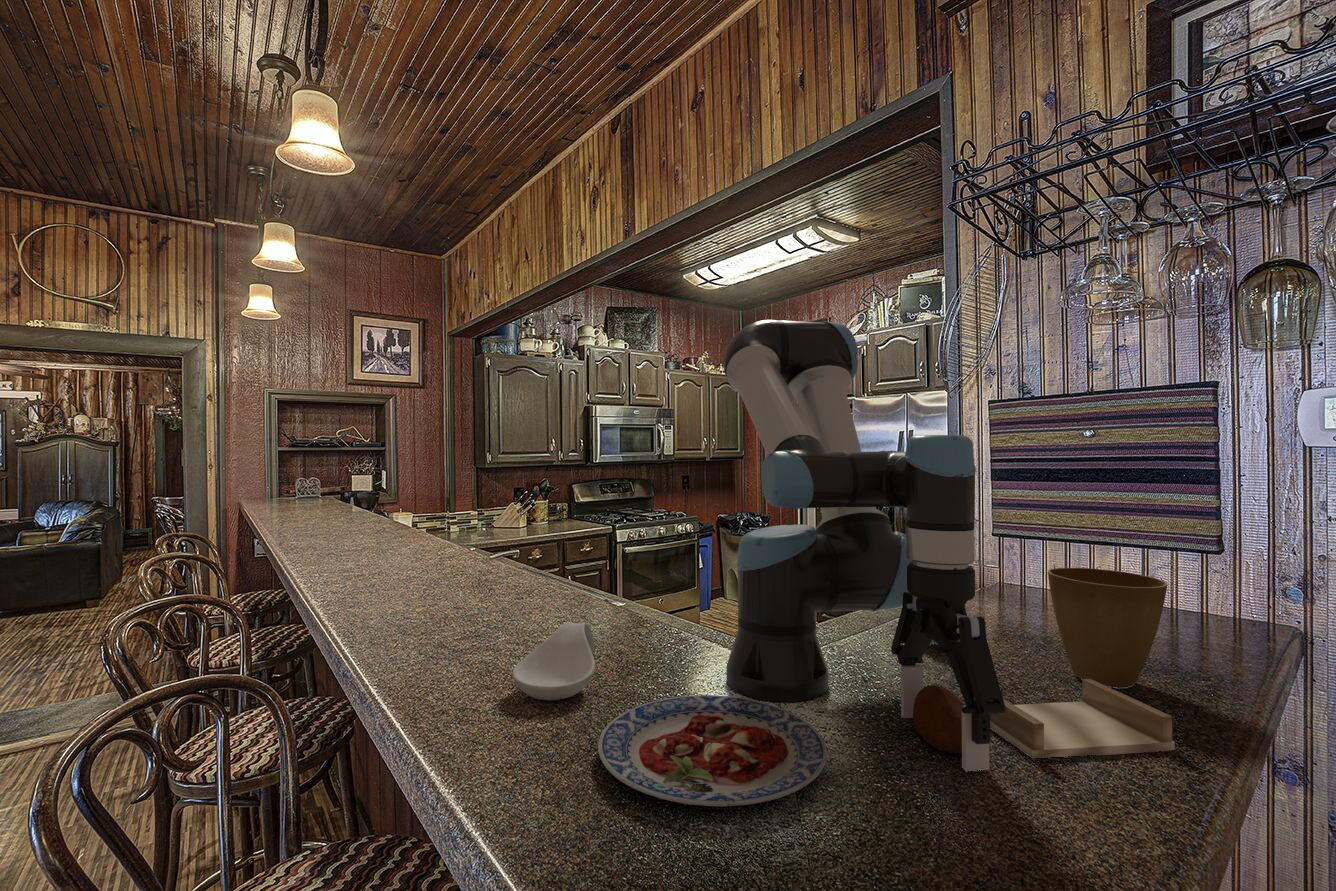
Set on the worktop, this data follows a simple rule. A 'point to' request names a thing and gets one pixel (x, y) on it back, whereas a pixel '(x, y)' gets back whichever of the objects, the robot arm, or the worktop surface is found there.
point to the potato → (939, 718)
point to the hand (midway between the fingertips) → (941, 740)
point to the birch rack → (1085, 725)
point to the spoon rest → (558, 664)
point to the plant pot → (1106, 621)
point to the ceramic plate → (712, 750)
